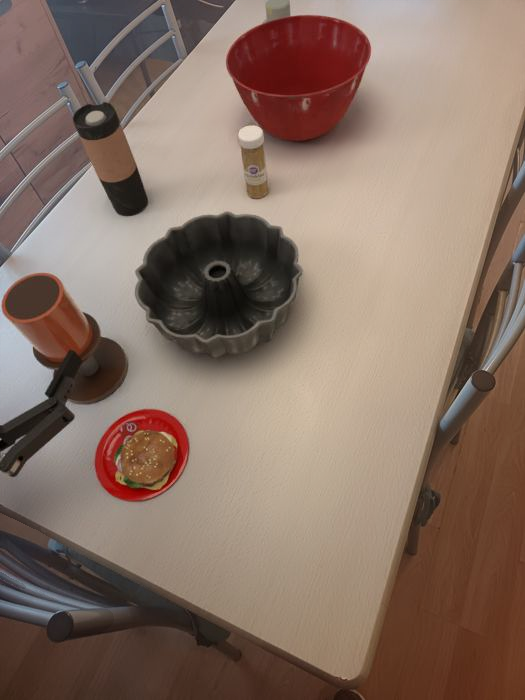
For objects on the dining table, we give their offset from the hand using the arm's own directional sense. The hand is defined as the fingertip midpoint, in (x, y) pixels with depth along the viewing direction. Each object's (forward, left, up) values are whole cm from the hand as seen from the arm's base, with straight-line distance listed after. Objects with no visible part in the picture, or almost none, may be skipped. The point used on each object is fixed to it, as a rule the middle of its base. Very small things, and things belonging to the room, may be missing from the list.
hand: (32, 345), depth 67 cm
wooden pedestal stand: (0, +5, -15) cm, 16 cm away
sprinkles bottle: (+15, +51, -16) cm, 55 cm away
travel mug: (-10, +43, -16) cm, 46 cm away
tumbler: (0, +5, -5) cm, 7 cm away
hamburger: (+14, -6, -16) cm, 22 cm away
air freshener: (+5, +105, -16) cm, 106 cm away
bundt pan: (+18, +22, -16) cm, 32 cm away
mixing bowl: (+18, +74, -16) cm, 77 cm away
